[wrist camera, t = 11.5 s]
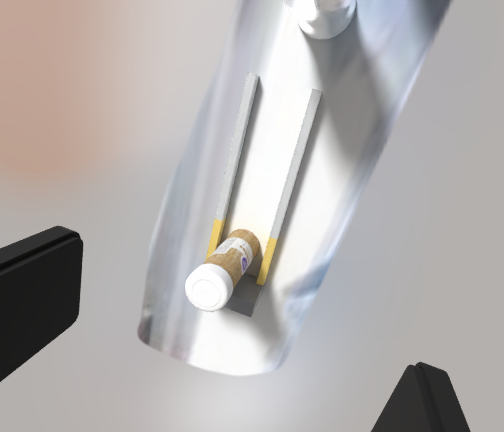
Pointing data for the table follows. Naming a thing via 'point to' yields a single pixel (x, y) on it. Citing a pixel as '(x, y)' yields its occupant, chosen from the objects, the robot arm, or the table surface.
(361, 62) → the table surface
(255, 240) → the sprinkles bottle
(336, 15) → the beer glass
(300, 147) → the guide channel
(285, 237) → the table surface
